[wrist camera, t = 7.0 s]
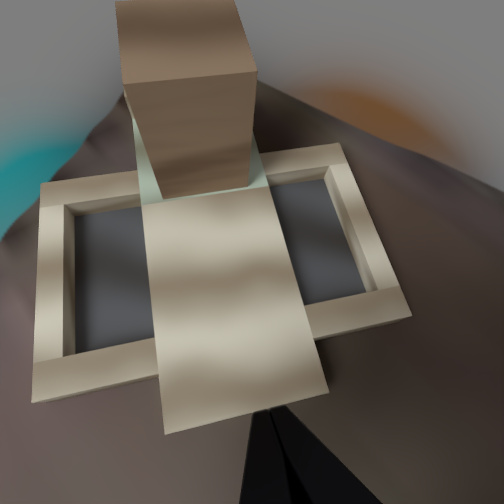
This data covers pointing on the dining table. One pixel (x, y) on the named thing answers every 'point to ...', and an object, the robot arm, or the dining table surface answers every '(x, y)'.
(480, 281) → the dining table surface
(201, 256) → the board
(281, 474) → the robot arm
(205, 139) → the walnut block
